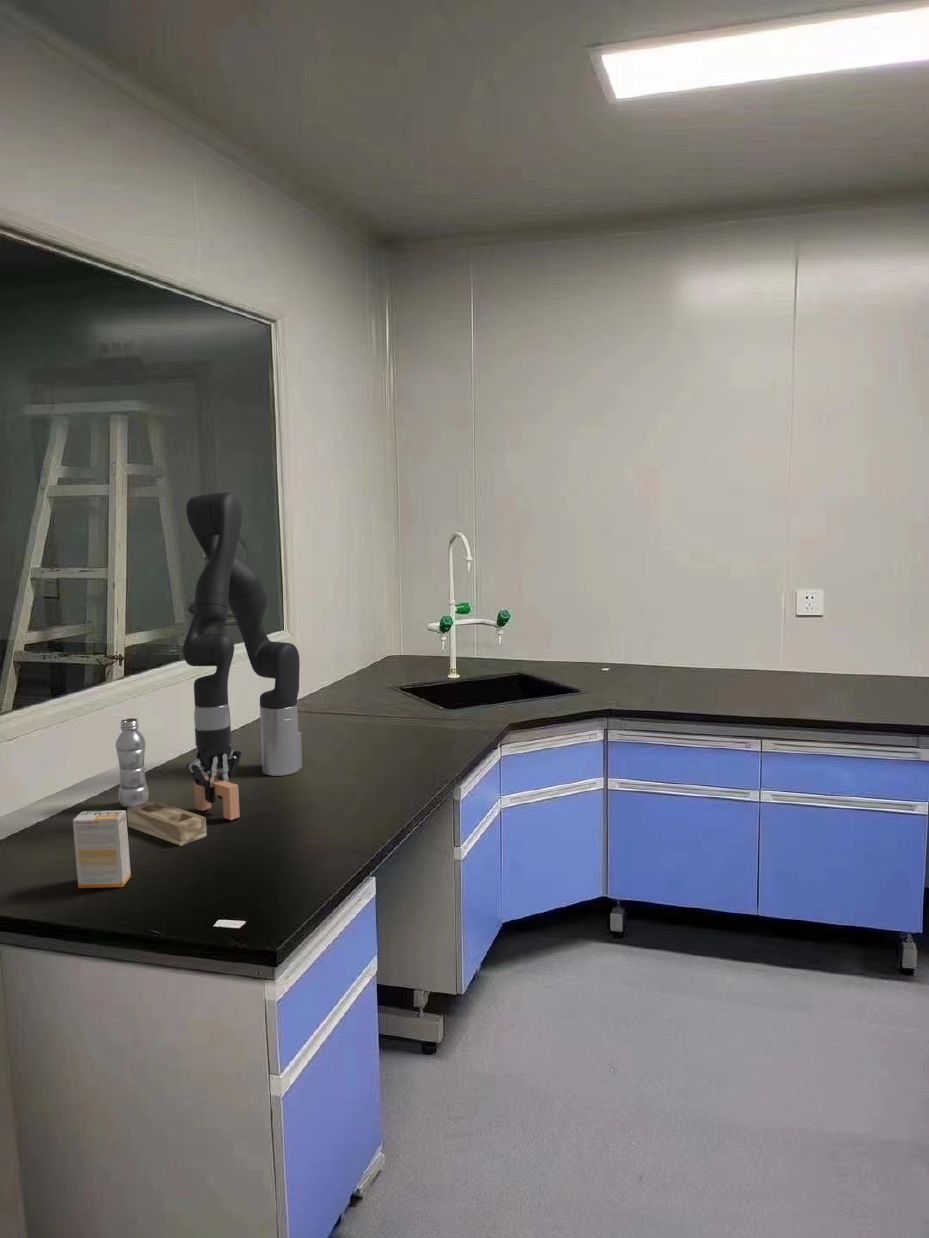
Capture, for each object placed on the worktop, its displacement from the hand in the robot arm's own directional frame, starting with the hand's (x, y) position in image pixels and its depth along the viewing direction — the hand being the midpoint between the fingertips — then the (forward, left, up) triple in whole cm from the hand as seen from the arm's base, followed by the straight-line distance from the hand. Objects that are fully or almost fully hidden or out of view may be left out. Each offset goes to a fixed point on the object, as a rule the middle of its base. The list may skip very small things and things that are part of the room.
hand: (216, 800), depth 198 cm
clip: (0, 0, -3) cm, 3 cm away
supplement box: (+34, +11, -4) cm, 36 cm away
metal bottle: (+7, -20, -4) cm, 22 cm away
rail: (+12, -1, -3) cm, 13 cm away
